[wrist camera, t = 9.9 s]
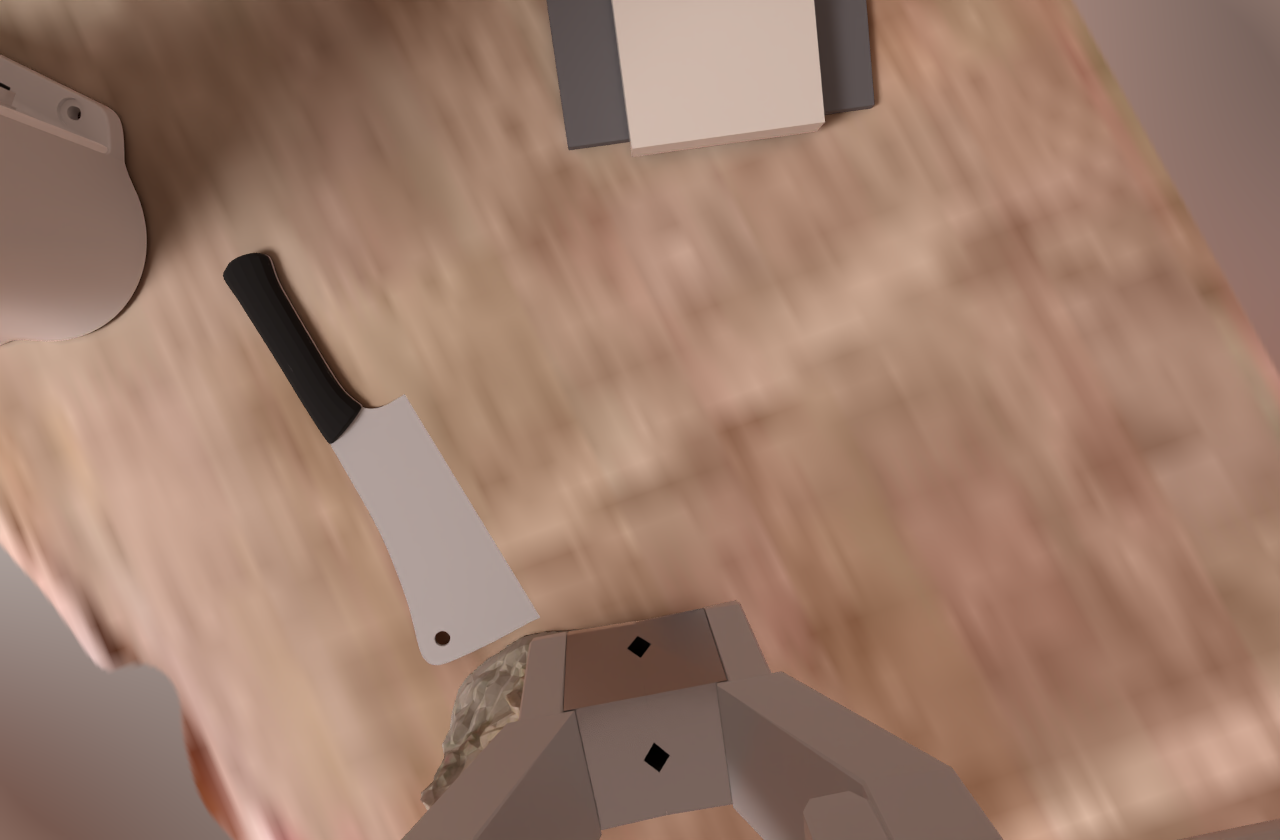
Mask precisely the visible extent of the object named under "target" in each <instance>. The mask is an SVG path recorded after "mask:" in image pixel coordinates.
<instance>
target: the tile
mask: <svg viewBox="0 0 1280 840" xmlns="http://www.w3.org/2000/svg"><path fill="white" fill-rule="evenodd" d="M611 3H612V10H613V18H614V25H615V33H616V40H617V48H618V55H619V63H620V71H621V78H622V86H623V93H624V101H625V108H626V116H627V124H628V131H629V139H630V146H631V154H632V157H636V156H643V155H651V154H658V153H665V152H672V151H679V150H687V149H694V148H701V147H708V146H716V145H723V144H730V143H737V142H744V141H752V140H759V139H766V138H773V137H781V136H788V135H795V134H802V133H810V132H816V131H817V130H818V129H819V128H820V127H821V126H822V125H823V124H824V123H825V117H824V106H823V95H822V84H821V73H820V61H819V50H818V39H817V28H816V17H815V6H814V0H611Z"/></svg>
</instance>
